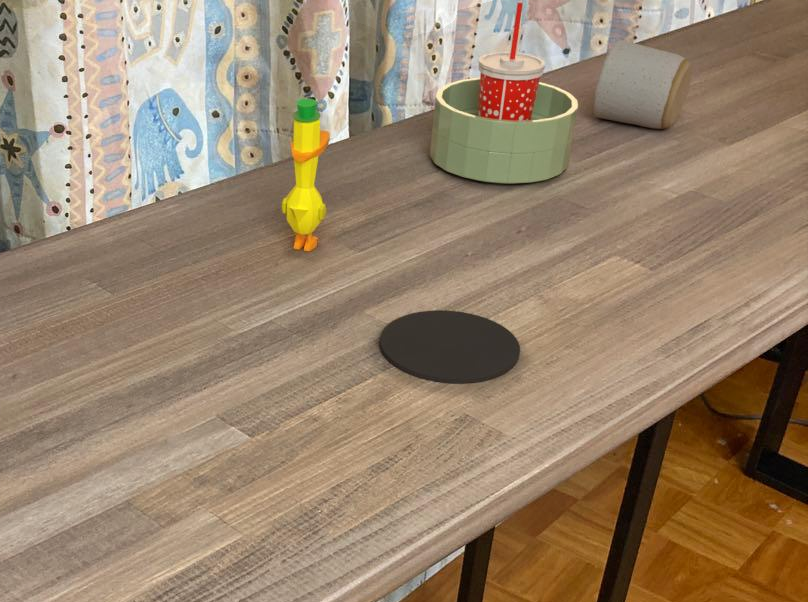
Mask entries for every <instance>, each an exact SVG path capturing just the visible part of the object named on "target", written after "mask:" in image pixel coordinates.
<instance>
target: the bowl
mask: <svg viewBox="0 0 808 602" xmlns="http://www.w3.org/2000/svg"><path fill="white" fill-rule="evenodd" d="M479 89H480V77H473V78H465V79H460V80H455V81H453V82H450V83H447V84H444V85H443V86H442V87H440V88H439V89H438V90H437V91H436V95H435V99H434V108H433V109H434V110H433V117H432V118H433V120H432V127H431V128H432V129H431V138H430V147H429V148H430V149H429V156H430V159H431V160H432V161H433V163H434V164H435V166H438V167H440V168H441V169H442V170H444V171H446V172H448V173H450V174H453V175H456V176H458V177H462V178H466V179H469V180H473V181H477V182H483V183H489V184H490V183H491V184H503V185H515V184H516V185H517V184H528V183H529V184H530V183H537V182H542V181H546V180H547V181H548V180H550V179H552V178H554V177H557V176H559V175H561V174H562V173H563V172H564V171H565V170H566V169H567V168H568V166H569V162H570V156H571V150H572V144H573V138H574V134H575V128H576V122H577V117H578V112H579V100H578V99H577V98H576V97H575V96H574V95H573V94H572V93H571V92H568V91H566V90H564V89H563V88H560V87H557V86H555V85H551V84H548V83H544V82H540V81H539V84H538V89H537V94H536V98H535V103H534V107H533V112H532V117H531V120H519V121H513V120H500V119H491V118H485V117H480V116H478V104H479Z"/></svg>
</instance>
